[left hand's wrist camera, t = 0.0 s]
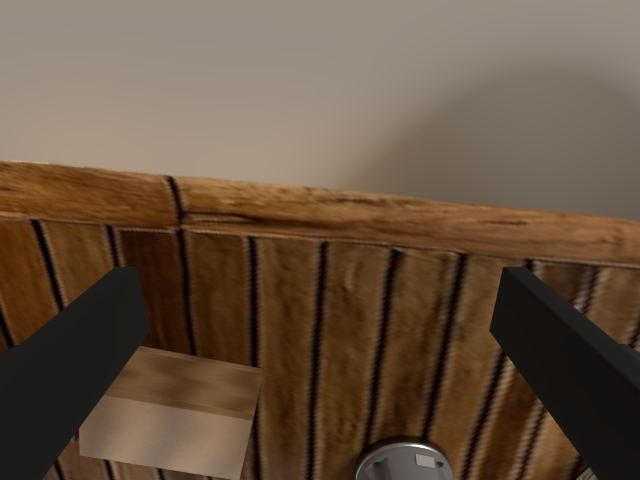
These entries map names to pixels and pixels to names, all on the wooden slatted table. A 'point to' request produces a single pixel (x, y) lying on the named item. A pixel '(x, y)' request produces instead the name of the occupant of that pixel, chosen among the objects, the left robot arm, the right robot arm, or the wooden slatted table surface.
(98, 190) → the wooden slatted table surface
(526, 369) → the left robot arm
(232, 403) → the cabinet
